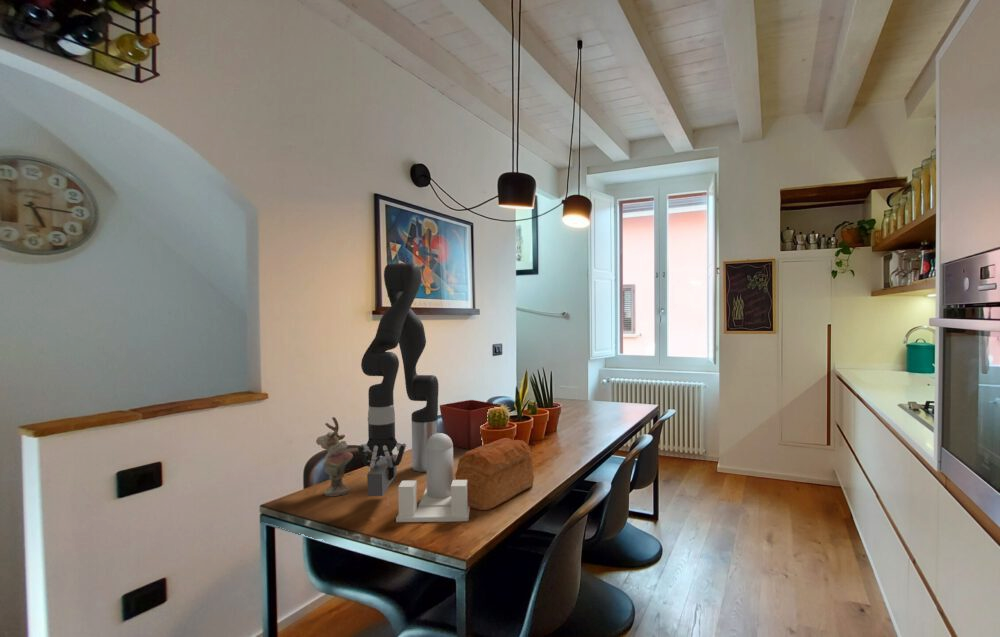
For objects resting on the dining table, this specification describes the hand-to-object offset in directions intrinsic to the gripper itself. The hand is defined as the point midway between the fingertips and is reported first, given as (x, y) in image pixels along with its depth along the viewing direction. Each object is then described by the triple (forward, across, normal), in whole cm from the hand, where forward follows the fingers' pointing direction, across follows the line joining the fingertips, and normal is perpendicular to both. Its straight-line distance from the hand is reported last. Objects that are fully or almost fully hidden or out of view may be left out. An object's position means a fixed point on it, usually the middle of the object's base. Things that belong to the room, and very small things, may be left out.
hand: (382, 479), depth 143 cm
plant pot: (+8, -21, -66) cm, 70 cm away
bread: (+8, -33, -8) cm, 34 cm away
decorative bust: (+8, +18, -12) cm, 23 cm away
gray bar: (+1, 0, 0) cm, 1 cm away
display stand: (+7, -16, +2) cm, 18 cm away
